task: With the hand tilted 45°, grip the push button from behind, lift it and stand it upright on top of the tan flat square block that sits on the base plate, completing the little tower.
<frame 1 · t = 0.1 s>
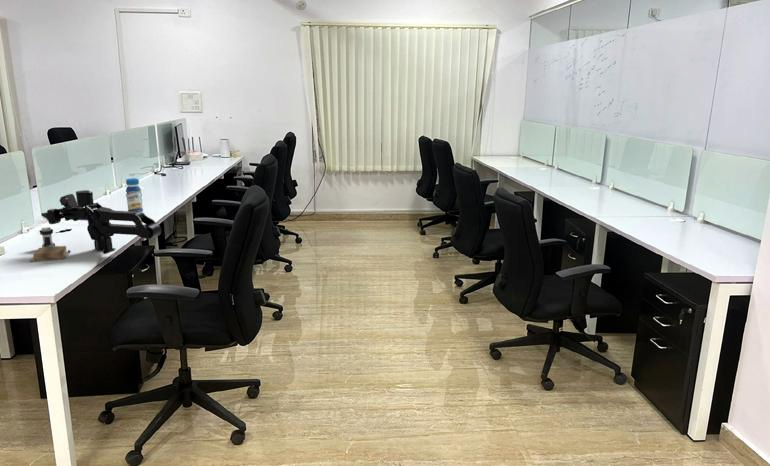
hand: (49, 212, 245), 17 cm above the table, tool horizontal, fingers open, 9 cm apart
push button: (50, 250, 246), on the table
tan flat square block: (51, 256, 233), resting on base plate
base plate: (51, 258, 233), on the table
beverage bottle: (135, 212, 325), on the table
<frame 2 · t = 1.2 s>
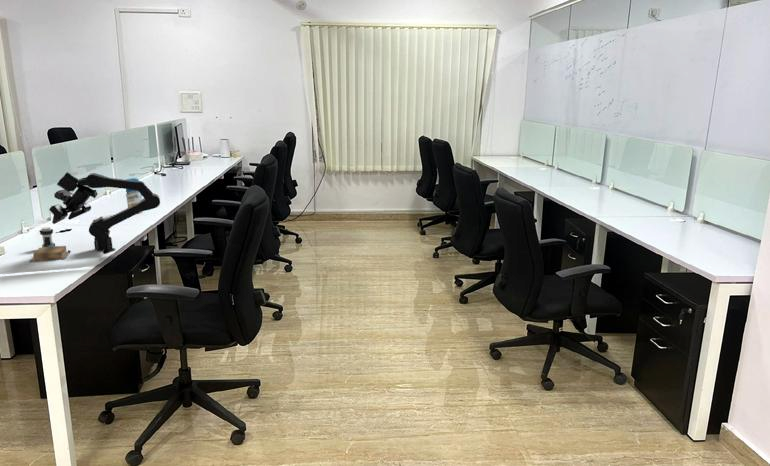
hand: (61, 221, 242), 14 cm above the table, tool tilted 45°, fingers open, 9 cm apart
nothing on the table moved.
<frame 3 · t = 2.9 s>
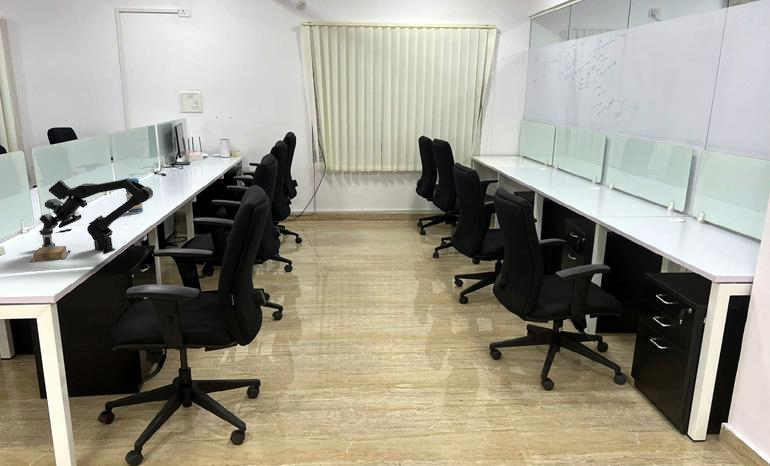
hand: (51, 229, 243), 9 cm above the table, tool tilted 45°, fingers open, 9 cm apart
nothing on the table moved.
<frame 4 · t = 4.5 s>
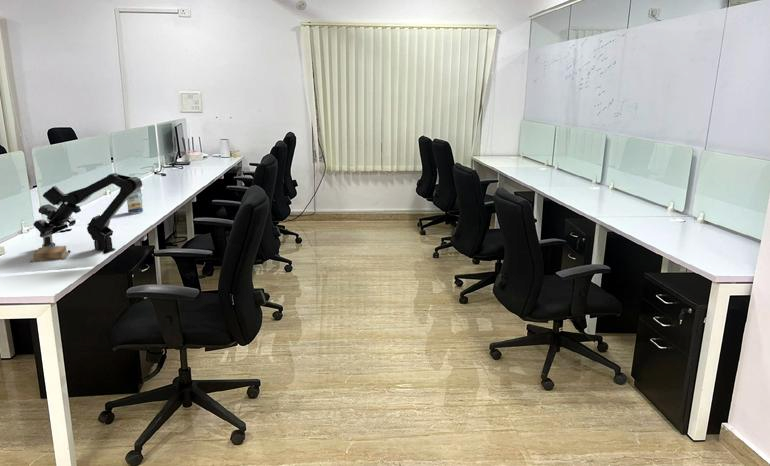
hand: (45, 235, 245), 7 cm above the table, tool tilted 45°, fingers closed on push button, 5 cm apart
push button: (50, 250, 246), on the table, touching gripper
everything else where it was.
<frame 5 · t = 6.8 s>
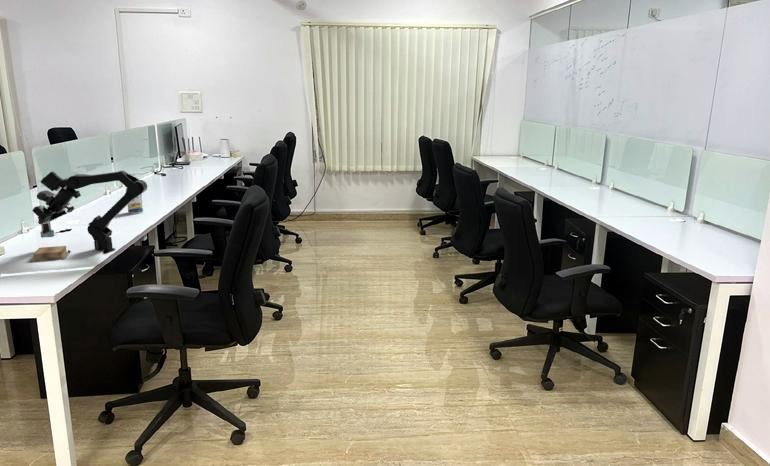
hand: (44, 222, 241), 13 cm above the table, tool tilted 45°, fingers closed on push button, 5 cm apart
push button: (49, 237, 243), point 6 cm above the table, touching gripper
everything else where it was.
when the fingers open (12 cm above the table, at t = 9.1 s): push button drops 1 cm, resting on tan flat square block.
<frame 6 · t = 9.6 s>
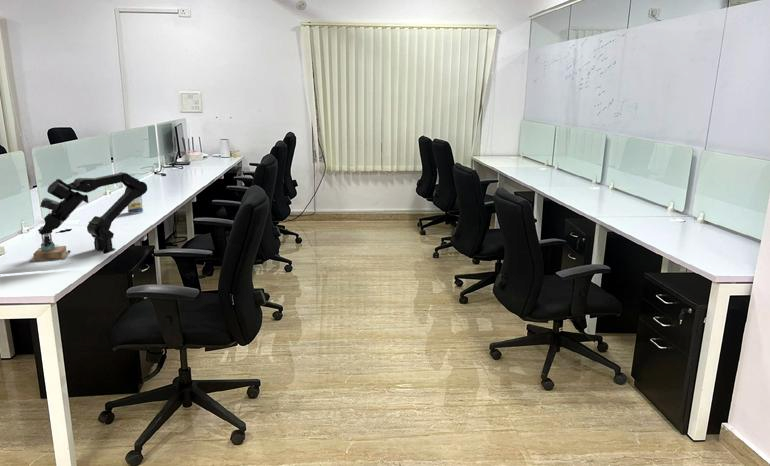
hand: (43, 231, 229), 12 cm above the table, tool tilted 45°, fingers open, 9 cm apart
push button: (50, 250, 232), point 4 cm above the table, touching tan flat square block
everything else where it was.
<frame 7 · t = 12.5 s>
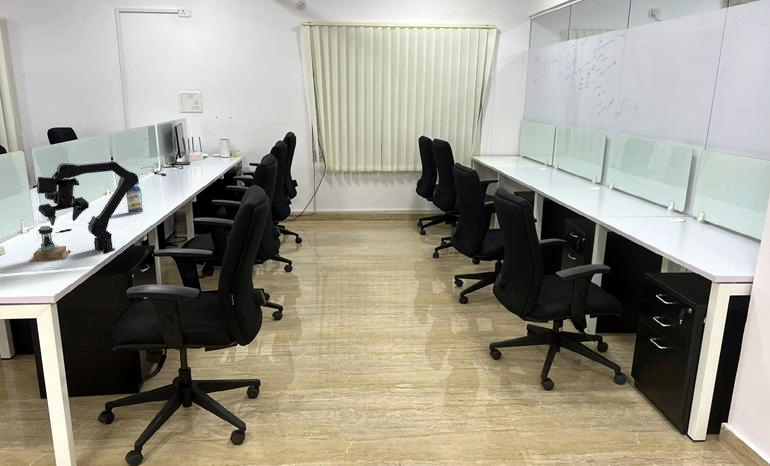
hand: (63, 222, 239), 13 cm above the table, tool tilted 25°, fingers open, 9 cm apart
nothing on the table moved.
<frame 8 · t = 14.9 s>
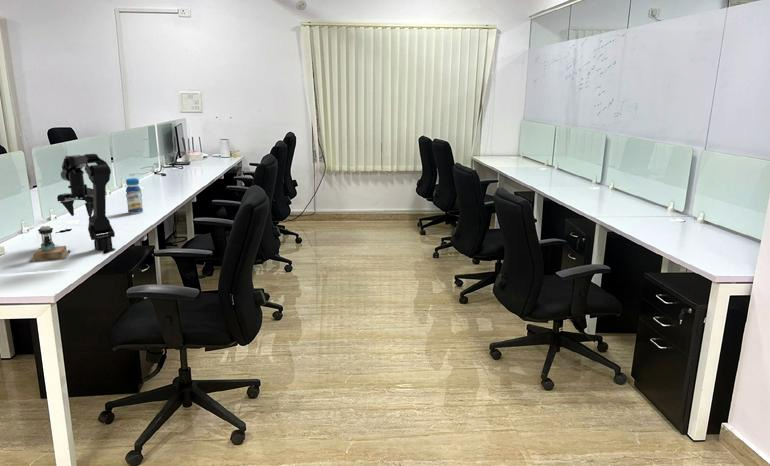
hand: (81, 216, 254), 13 cm above the table, tool pointing down, fingers open, 9 cm apart
nothing on the table moved.
at the end: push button inside the target area on the tan flat square block (0.2 cm from its centre), point 2.8 cm above the tan flat square block's base; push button tilted 0°; the gripper is holding nothing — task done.
